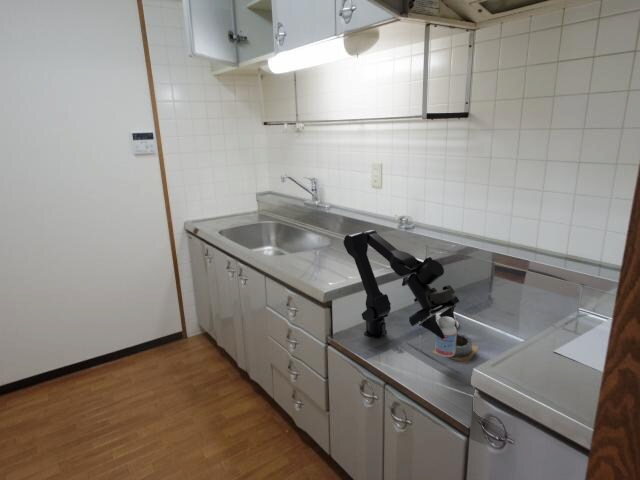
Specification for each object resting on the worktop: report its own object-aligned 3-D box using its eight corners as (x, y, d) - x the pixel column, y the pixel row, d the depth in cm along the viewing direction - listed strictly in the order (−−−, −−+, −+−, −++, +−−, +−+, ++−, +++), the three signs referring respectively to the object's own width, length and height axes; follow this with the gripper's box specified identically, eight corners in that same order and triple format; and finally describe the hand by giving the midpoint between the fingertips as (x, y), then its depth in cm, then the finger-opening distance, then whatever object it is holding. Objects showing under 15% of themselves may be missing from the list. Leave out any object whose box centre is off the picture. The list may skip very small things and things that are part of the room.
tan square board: (431, 353, 135) (431, 352, 135) (445, 338, 144) (445, 337, 144) (467, 364, 128) (467, 363, 128) (479, 348, 137) (479, 347, 137)
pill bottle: (433, 355, 124) (434, 322, 121) (437, 345, 129) (438, 313, 126) (454, 359, 121) (455, 325, 118) (456, 349, 126) (458, 317, 123)
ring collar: (435, 351, 135) (435, 342, 134) (447, 339, 143) (447, 330, 142) (465, 360, 129) (465, 351, 128) (475, 347, 137) (475, 338, 136)
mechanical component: (462, 324, 155) (437, 318, 161) (463, 313, 154) (438, 307, 160) (452, 334, 147) (427, 327, 153) (452, 323, 146) (427, 317, 152)
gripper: (417, 286, 117) (448, 335, 111) (455, 271, 127) (485, 314, 122) (396, 303, 125) (424, 349, 119) (434, 287, 136) (461, 329, 130)
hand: (450, 334), depth 122 cm, fingers closed on pill bottle, 6 cm apart
